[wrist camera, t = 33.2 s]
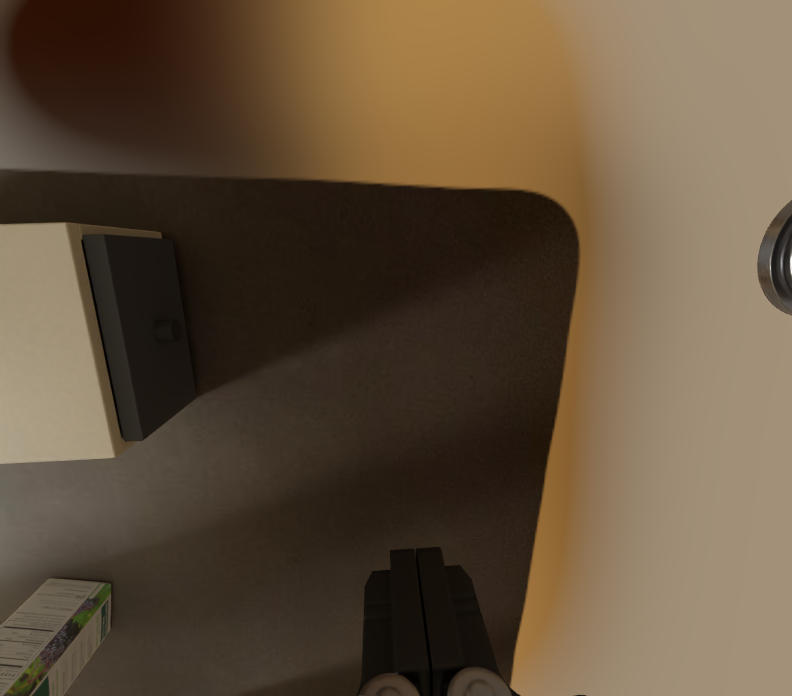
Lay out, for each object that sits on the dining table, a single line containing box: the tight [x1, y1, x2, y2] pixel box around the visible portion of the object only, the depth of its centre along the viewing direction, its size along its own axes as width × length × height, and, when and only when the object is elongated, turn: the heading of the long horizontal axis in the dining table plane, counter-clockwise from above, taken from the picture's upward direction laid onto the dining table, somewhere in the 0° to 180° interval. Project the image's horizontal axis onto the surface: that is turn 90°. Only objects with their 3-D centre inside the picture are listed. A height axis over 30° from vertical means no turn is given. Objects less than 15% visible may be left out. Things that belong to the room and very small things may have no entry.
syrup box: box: [0, 578, 111, 696], centre depth 31 cm, size 6×6×14 cm
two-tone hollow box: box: [82, 234, 196, 442], centre depth 27 cm, size 20×13×8 cm, turn 92°
